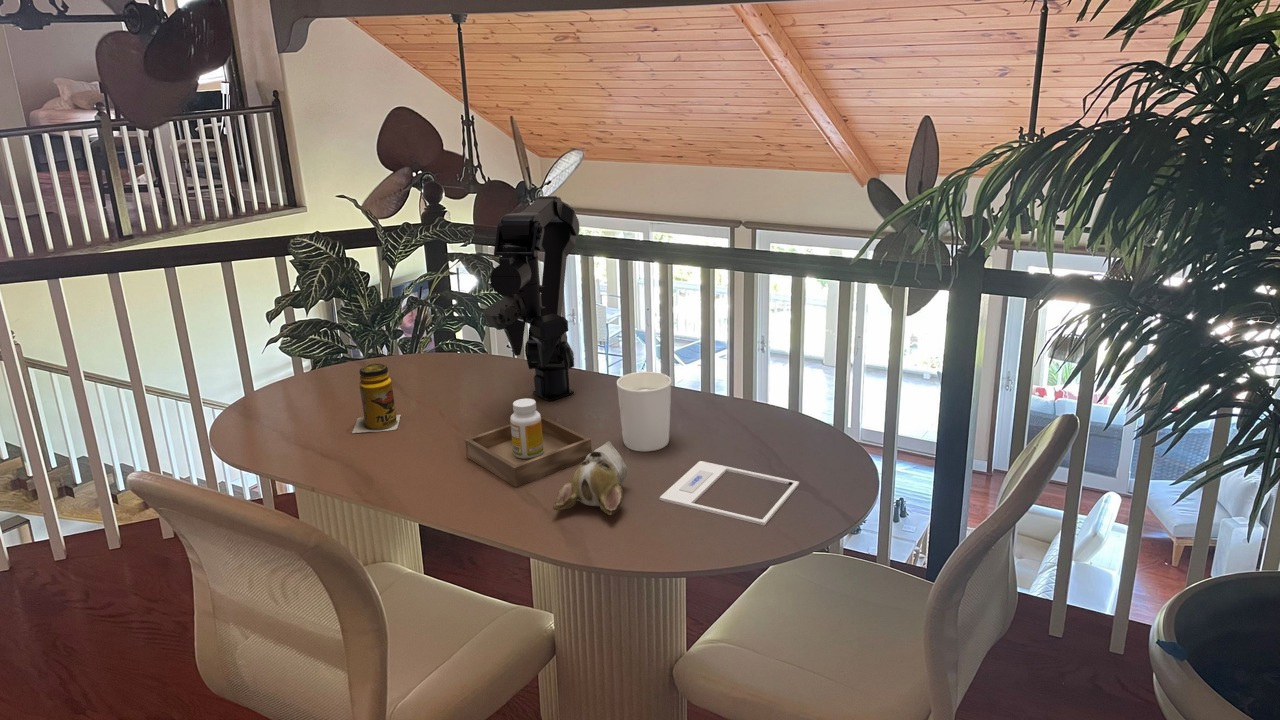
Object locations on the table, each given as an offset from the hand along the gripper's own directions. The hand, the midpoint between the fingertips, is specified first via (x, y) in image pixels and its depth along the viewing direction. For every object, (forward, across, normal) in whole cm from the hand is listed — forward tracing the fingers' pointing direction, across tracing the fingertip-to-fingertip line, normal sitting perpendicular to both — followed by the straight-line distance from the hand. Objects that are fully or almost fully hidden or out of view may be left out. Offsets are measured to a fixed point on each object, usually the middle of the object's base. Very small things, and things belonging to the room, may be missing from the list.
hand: (530, 360), depth 172 cm
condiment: (+12, -20, -24) cm, 34 cm away
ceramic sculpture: (+12, +35, -12) cm, 39 cm away
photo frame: (+13, +48, +5) cm, 50 cm away
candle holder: (+12, +24, +8) cm, 28 cm away
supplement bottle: (+11, +14, -11) cm, 21 cm away
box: (+12, +14, -11) cm, 21 cm away
